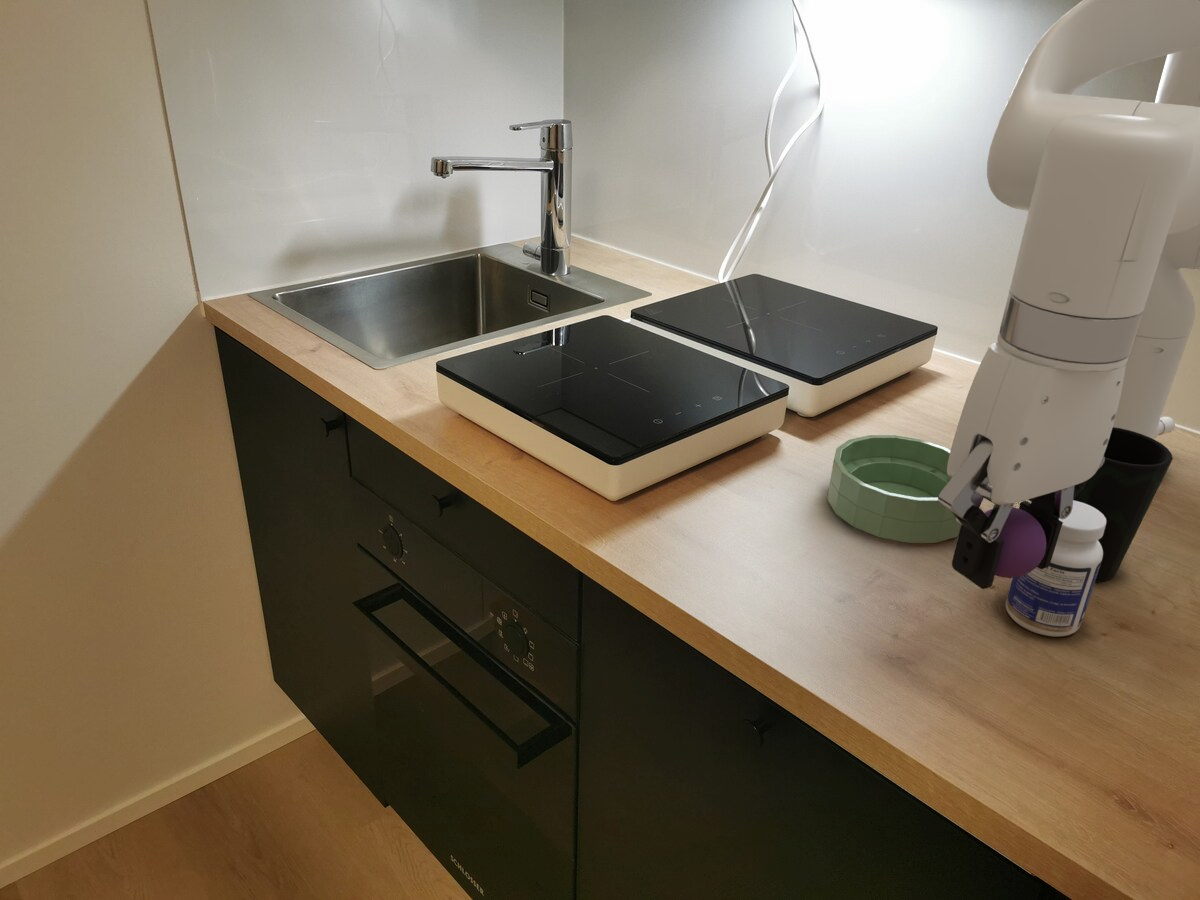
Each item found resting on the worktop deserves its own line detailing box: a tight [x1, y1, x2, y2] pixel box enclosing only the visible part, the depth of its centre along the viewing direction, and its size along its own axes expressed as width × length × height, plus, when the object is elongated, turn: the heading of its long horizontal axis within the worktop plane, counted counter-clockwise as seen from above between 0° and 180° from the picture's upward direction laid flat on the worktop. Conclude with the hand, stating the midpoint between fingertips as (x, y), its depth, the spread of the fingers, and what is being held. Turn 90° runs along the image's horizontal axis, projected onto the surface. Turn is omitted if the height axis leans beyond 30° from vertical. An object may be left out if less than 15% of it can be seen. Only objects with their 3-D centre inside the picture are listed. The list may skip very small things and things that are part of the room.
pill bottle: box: [1005, 500, 1106, 638], centre depth 72 cm, size 6×6×10 cm
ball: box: [984, 506, 1046, 579], centre depth 64 cm, size 5×5×5 cm
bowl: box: [826, 434, 961, 544], centre depth 88 cm, size 13×13×5 cm
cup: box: [1073, 427, 1174, 583], centre depth 79 cm, size 8×8×12 cm
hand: (1000, 565), depth 65 cm, fingers closed on ball, 4 cm apart
